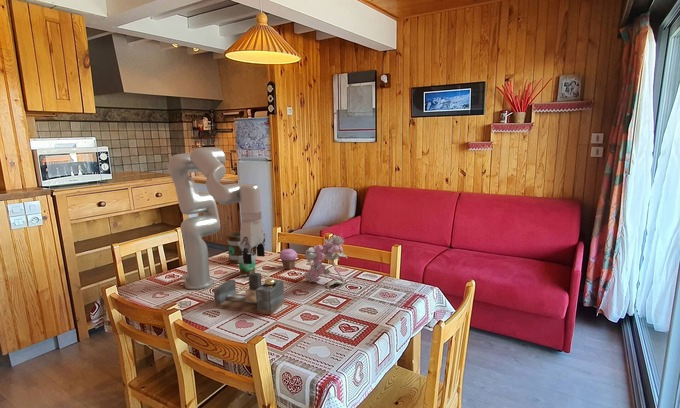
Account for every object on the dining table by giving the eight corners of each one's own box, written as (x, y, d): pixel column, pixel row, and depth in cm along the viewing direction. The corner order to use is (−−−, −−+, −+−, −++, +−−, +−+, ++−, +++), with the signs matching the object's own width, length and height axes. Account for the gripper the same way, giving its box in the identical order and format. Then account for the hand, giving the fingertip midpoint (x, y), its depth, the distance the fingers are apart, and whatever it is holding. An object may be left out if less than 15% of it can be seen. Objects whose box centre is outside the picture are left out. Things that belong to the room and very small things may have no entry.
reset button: (264, 295, 149) (263, 281, 148) (268, 291, 152) (267, 278, 151) (272, 296, 148) (271, 282, 147) (276, 292, 151) (276, 279, 150)
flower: (339, 267, 191) (317, 226, 184) (366, 276, 172) (342, 230, 165) (309, 293, 183) (283, 250, 175) (333, 305, 164) (306, 258, 156)
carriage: (245, 300, 150) (244, 276, 148) (255, 294, 156) (253, 270, 155) (257, 302, 148) (255, 277, 147) (266, 295, 155) (264, 271, 153)
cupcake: (291, 271, 192) (290, 252, 190) (277, 269, 195) (276, 250, 194) (300, 266, 199) (300, 247, 198) (286, 264, 203) (285, 245, 201)
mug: (223, 261, 210) (221, 235, 207) (243, 255, 220) (241, 230, 218) (246, 268, 198) (244, 240, 195) (266, 261, 208) (264, 234, 206)
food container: (251, 279, 182) (249, 259, 180) (239, 278, 183) (237, 258, 182) (261, 270, 194) (260, 251, 192) (250, 270, 195) (248, 251, 194)
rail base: (215, 307, 153) (213, 284, 151) (231, 296, 163) (229, 274, 161) (271, 314, 145) (270, 291, 143) (284, 302, 155) (283, 280, 154)
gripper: (254, 212, 156) (257, 253, 159) (229, 221, 140) (233, 266, 142) (271, 212, 154) (273, 254, 156) (247, 221, 137) (251, 267, 140)
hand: (254, 259), depth 149 cm, fingers open, 9 cm apart
